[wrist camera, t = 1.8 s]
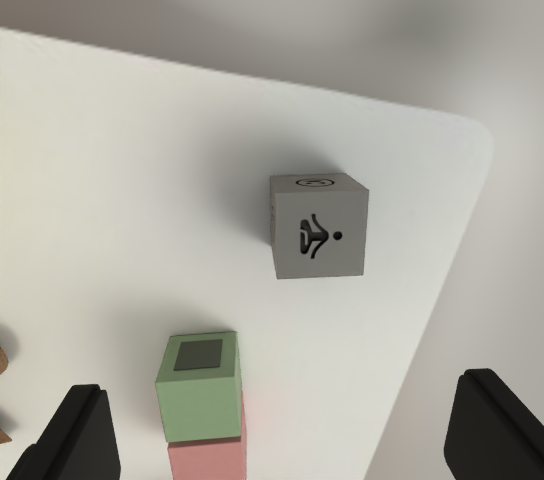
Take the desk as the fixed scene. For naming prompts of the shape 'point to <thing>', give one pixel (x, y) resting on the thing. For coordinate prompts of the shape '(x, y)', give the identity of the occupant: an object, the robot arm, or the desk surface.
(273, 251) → the dice cube
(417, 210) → the desk surface
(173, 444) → the plain pink block
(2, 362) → the wooden block set
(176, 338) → the green cube
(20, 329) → the desk surface
